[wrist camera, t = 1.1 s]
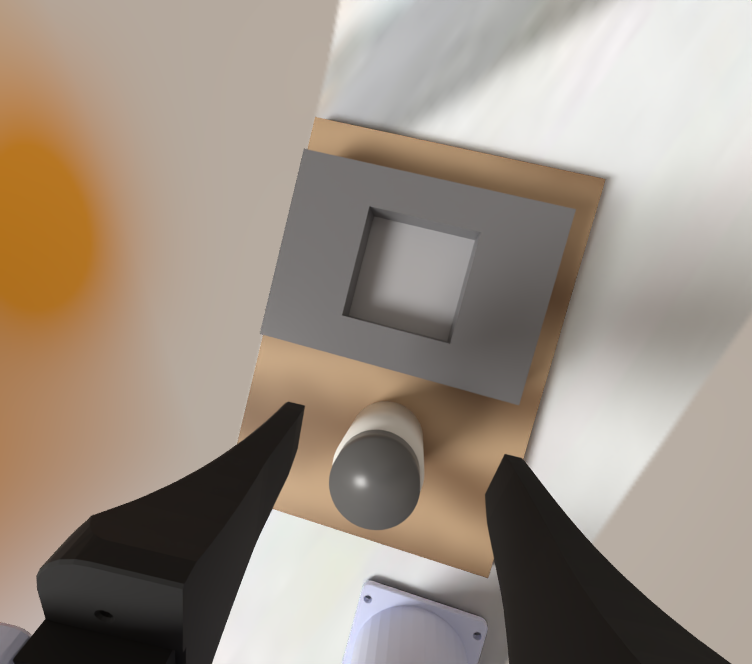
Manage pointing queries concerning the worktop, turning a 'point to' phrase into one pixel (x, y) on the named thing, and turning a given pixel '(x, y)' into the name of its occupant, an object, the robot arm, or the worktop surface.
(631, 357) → the worktop surface
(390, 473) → the cylinder
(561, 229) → the grey square frame plate
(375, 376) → the board
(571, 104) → the worktop surface
